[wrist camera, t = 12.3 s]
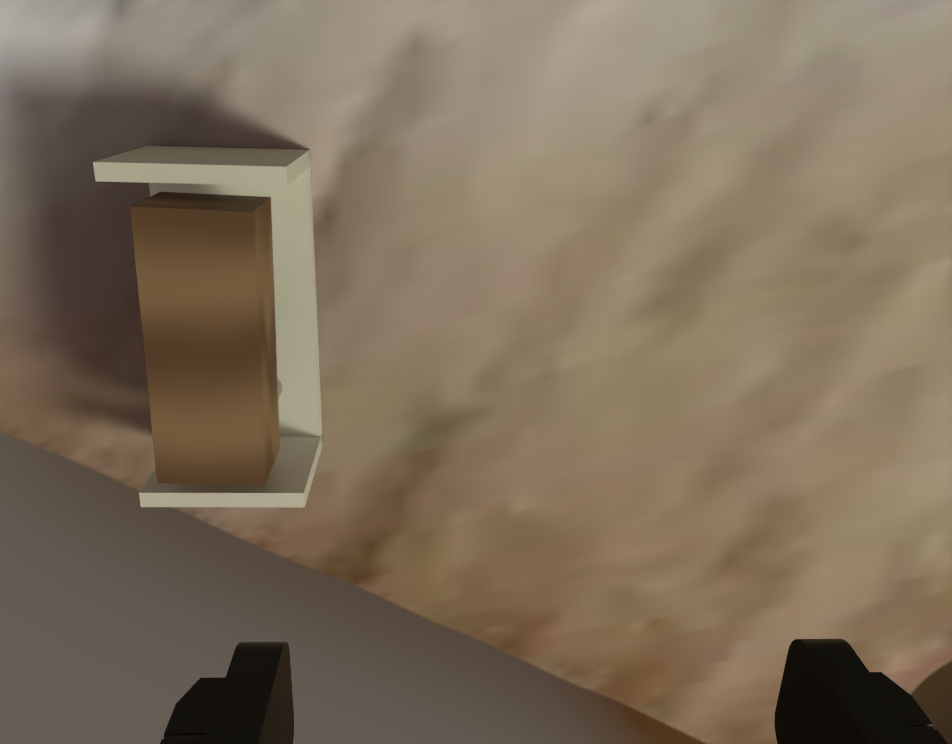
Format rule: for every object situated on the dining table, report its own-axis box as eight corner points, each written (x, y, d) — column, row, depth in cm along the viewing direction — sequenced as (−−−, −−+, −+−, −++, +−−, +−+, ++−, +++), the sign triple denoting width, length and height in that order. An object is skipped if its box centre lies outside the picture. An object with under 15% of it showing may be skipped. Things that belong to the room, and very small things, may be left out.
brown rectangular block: (279, 448, 42) (264, 486, 38) (182, 445, 41) (157, 483, 38) (270, 196, 37) (252, 212, 33) (160, 191, 37) (129, 206, 33)
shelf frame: (148, 145, 40) (92, 161, 33) (309, 149, 40) (285, 166, 34) (182, 443, 46) (140, 506, 39) (322, 444, 46) (304, 507, 40)
